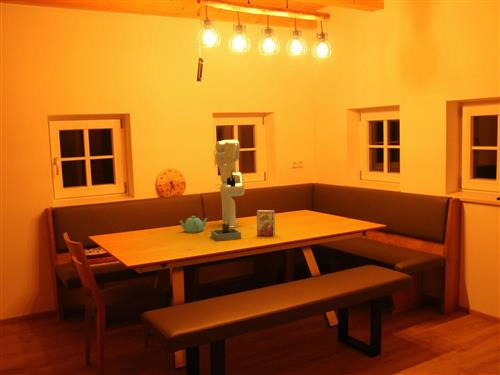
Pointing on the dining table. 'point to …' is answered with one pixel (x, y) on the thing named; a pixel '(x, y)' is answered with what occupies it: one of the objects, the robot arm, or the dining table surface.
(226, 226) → the battery cell
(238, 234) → the trough
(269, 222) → the candy bar box
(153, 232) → the dining table surface
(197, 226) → the teapot
